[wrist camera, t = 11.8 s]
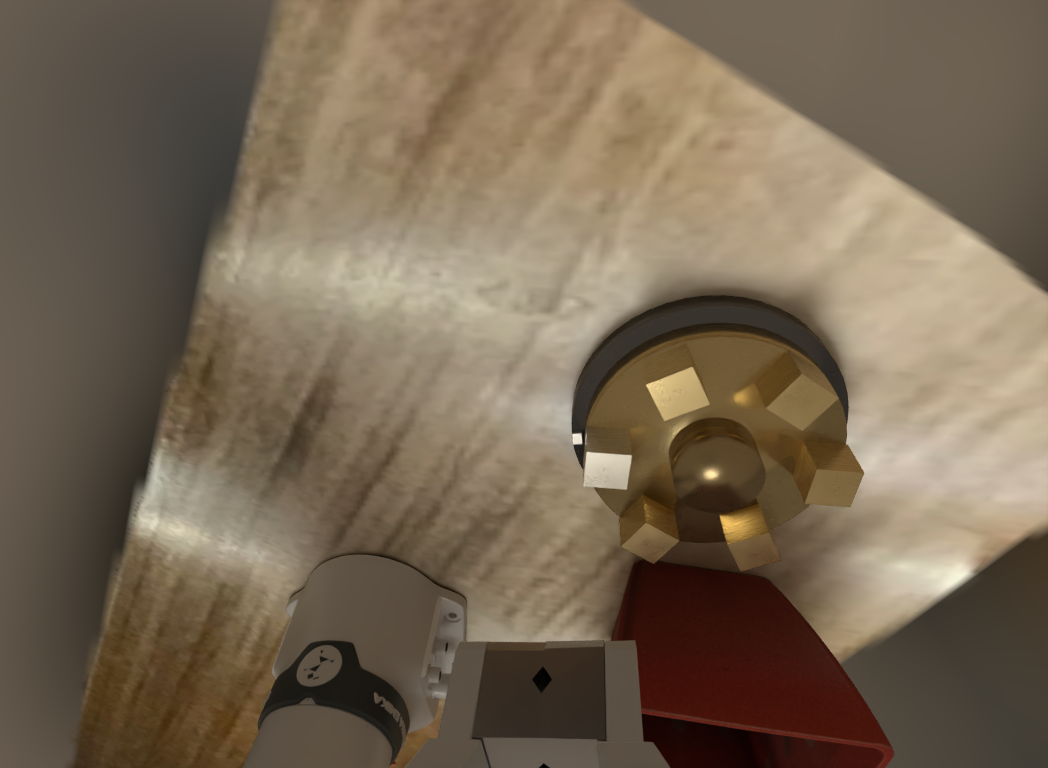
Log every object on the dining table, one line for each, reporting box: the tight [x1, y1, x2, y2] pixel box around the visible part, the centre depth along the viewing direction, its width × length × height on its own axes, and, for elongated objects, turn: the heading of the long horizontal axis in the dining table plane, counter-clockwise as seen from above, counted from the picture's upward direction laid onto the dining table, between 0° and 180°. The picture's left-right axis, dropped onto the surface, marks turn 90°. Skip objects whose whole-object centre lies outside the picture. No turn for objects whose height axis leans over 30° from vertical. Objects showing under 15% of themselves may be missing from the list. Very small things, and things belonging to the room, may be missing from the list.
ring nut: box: [583, 323, 864, 571], centre depth 44 cm, size 18×18×6 cm
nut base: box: [572, 295, 849, 469], centre depth 47 cm, size 20×20×2 cm
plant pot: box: [611, 560, 894, 768], centre depth 53 cm, size 19×19×17 cm
